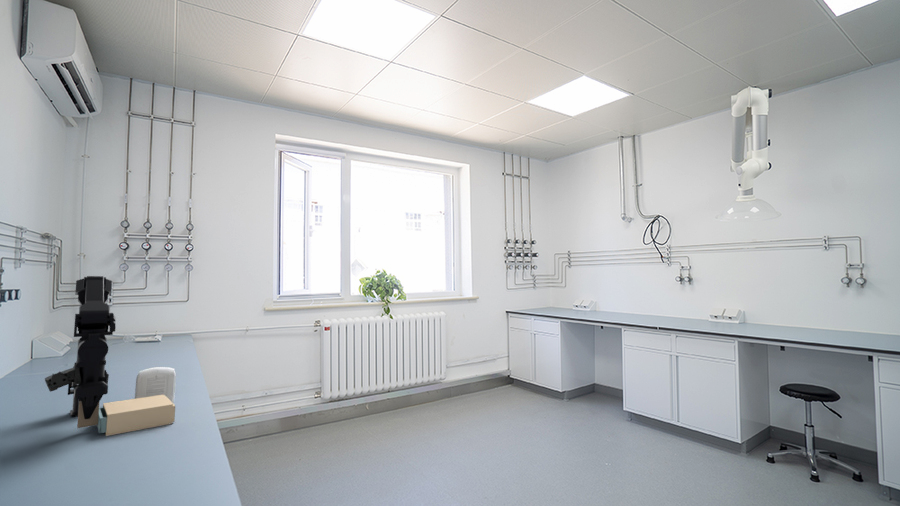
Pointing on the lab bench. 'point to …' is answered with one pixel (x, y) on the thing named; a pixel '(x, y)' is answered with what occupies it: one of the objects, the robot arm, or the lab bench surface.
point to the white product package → (156, 383)
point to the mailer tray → (93, 418)
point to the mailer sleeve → (138, 414)
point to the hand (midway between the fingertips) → (87, 418)
